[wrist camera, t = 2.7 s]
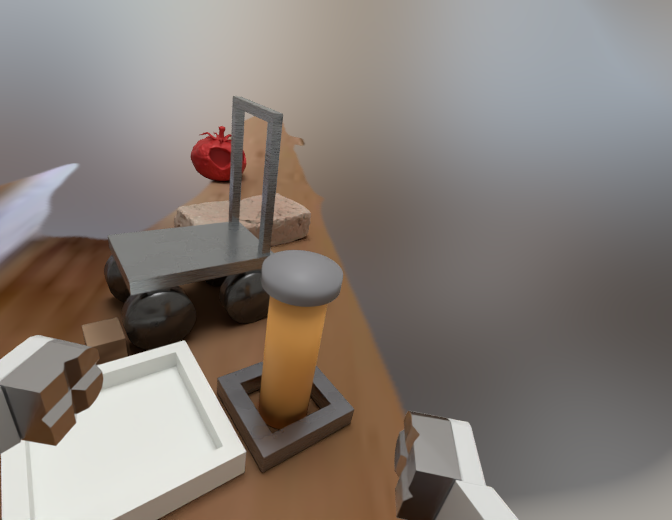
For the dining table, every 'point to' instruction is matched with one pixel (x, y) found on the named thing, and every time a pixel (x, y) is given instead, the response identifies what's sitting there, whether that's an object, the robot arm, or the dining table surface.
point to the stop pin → (294, 330)
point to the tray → (129, 447)
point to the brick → (251, 217)
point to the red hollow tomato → (214, 156)
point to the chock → (106, 339)
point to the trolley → (198, 255)
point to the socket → (292, 437)
